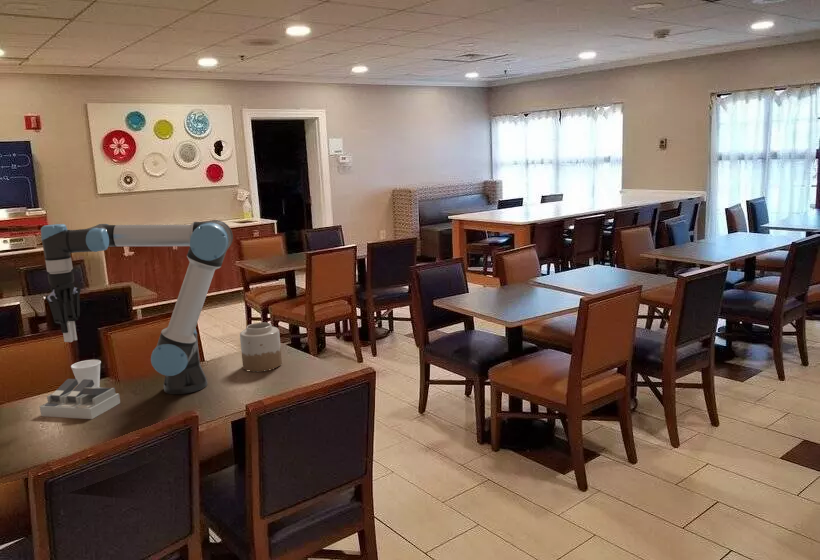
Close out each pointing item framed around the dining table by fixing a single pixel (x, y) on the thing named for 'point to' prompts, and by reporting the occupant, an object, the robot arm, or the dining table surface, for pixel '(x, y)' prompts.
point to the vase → (260, 347)
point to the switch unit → (80, 405)
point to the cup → (87, 371)
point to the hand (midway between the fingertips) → (70, 340)
